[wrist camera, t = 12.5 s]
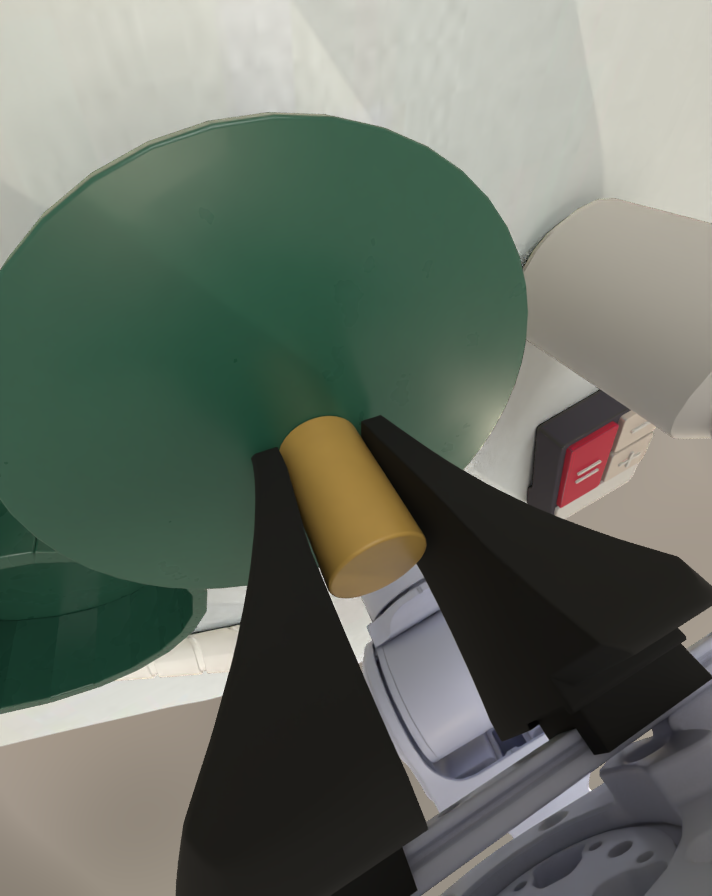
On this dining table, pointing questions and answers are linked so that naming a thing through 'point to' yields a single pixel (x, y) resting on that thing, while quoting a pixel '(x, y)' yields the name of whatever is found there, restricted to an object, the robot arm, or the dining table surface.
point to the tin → (77, 622)
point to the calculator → (586, 454)
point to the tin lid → (250, 346)
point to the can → (630, 309)
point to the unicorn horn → (194, 656)
